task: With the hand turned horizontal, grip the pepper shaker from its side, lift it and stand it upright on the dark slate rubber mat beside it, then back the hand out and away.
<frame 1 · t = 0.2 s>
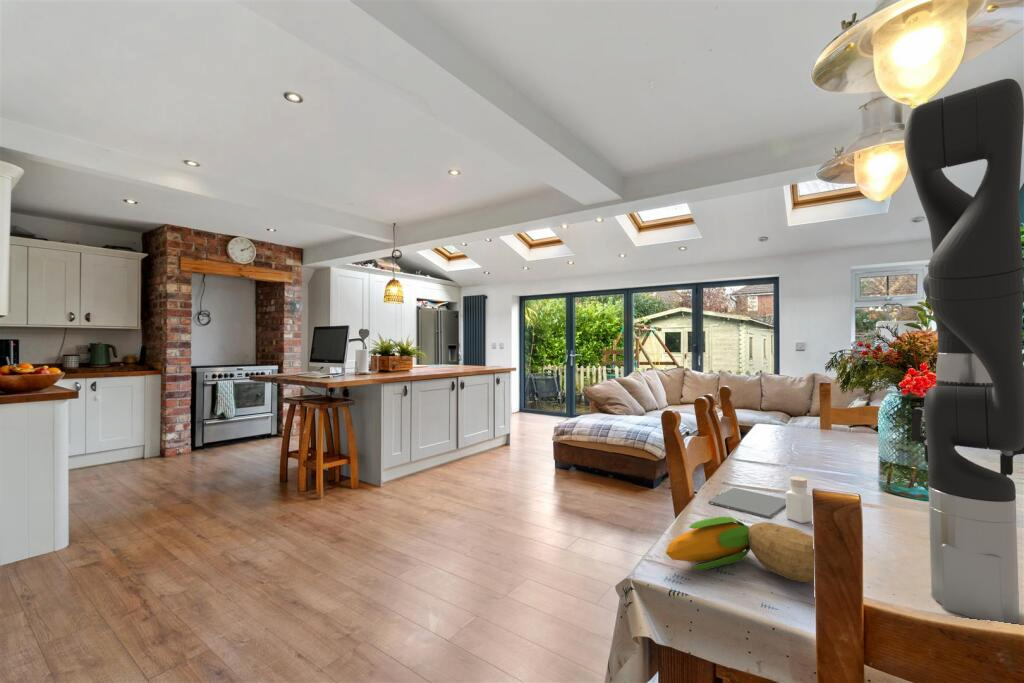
hand: (967, 471, 77), 18 cm above the table, tool pointing down, fingers open, 8 cm apart
pepper shaker: (799, 521, 101), on the table
slate mat: (749, 502, 112), on the table
potato: (787, 576, 76), on the table, touching corn
corn: (710, 563, 81), on the table, touching potato
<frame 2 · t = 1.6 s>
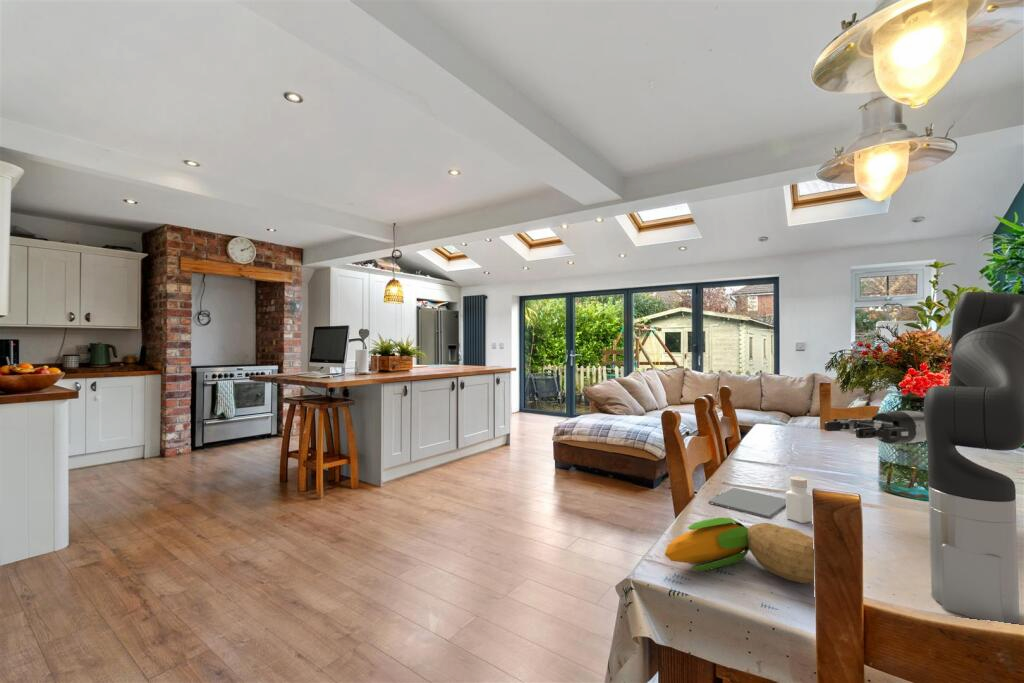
hand: (840, 429, 103), 20 cm above the table, tool horizontal, fingers open, 8 cm apart
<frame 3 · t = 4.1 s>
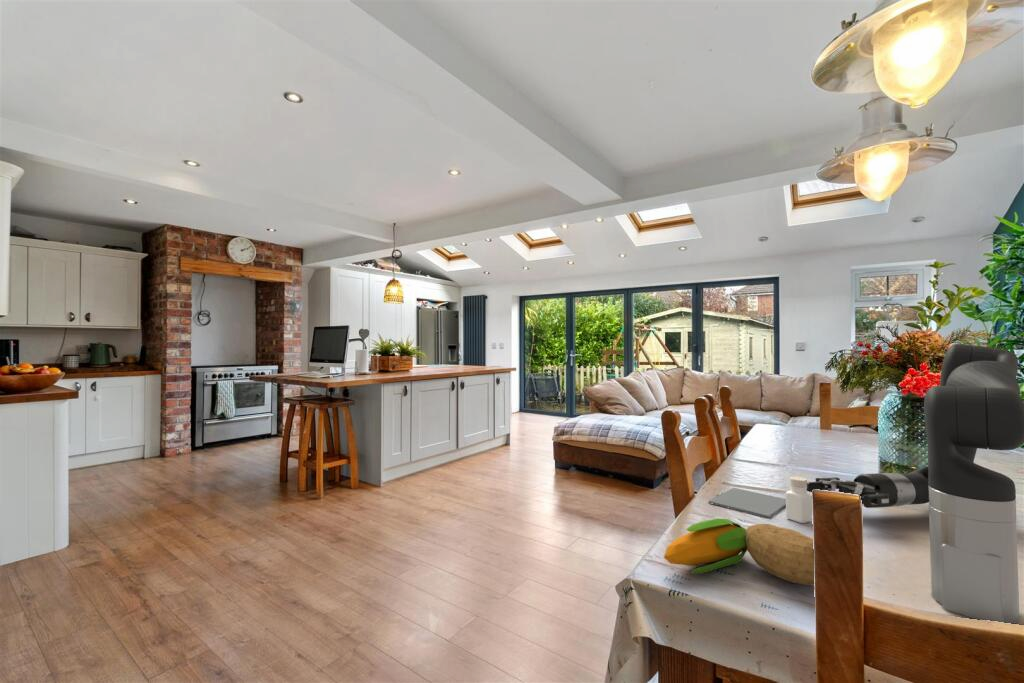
hand: (821, 492, 101), 6 cm above the table, tool horizontal, fingers open, 8 cm apart
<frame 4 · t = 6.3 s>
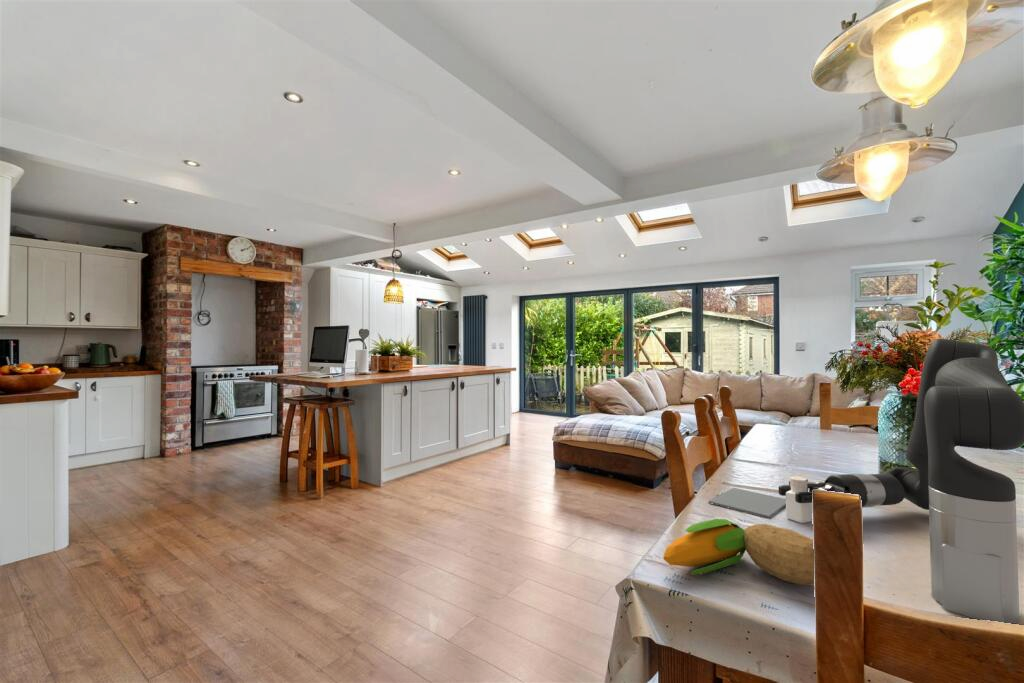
hand: (788, 494, 100), 6 cm above the table, tool horizontal, fingers closed on pepper shaker, 4 cm apart
pepper shaker: (799, 520, 101), on the table, touching gripper
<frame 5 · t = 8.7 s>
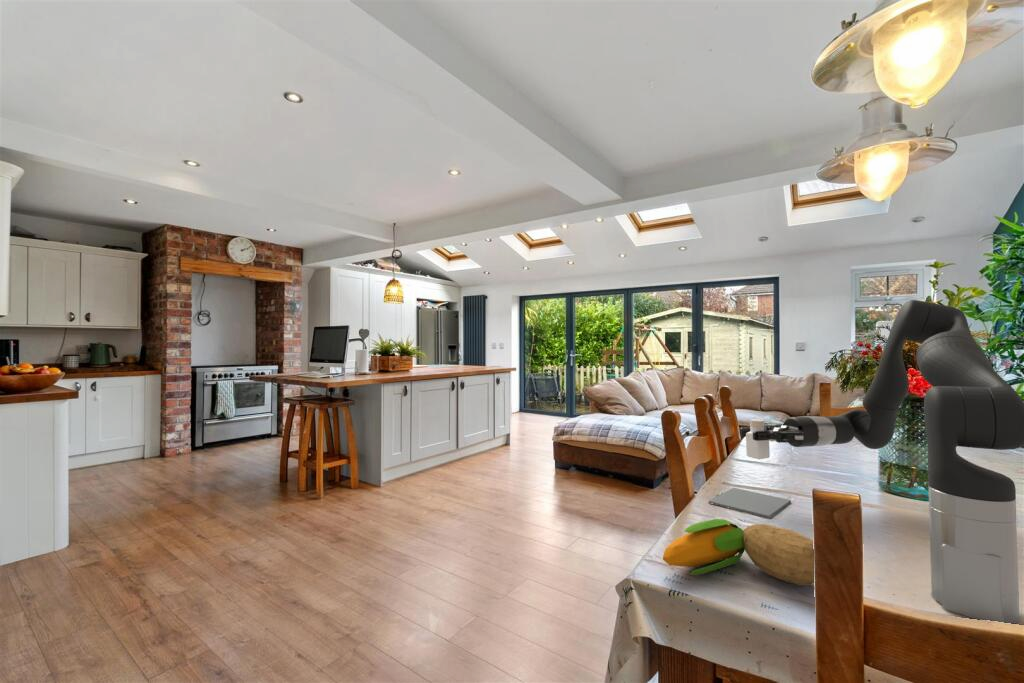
hand: (747, 434, 111), 18 cm above the table, tool horizontal, fingers closed on pepper shaker, 4 cm apart
pepper shaker: (758, 458, 111), point 12 cm above the table, touching gripper
when the fingers open (8 cm above the table, at t = 11.2 s): pepper shaker stays where it is, resting on slate mat.
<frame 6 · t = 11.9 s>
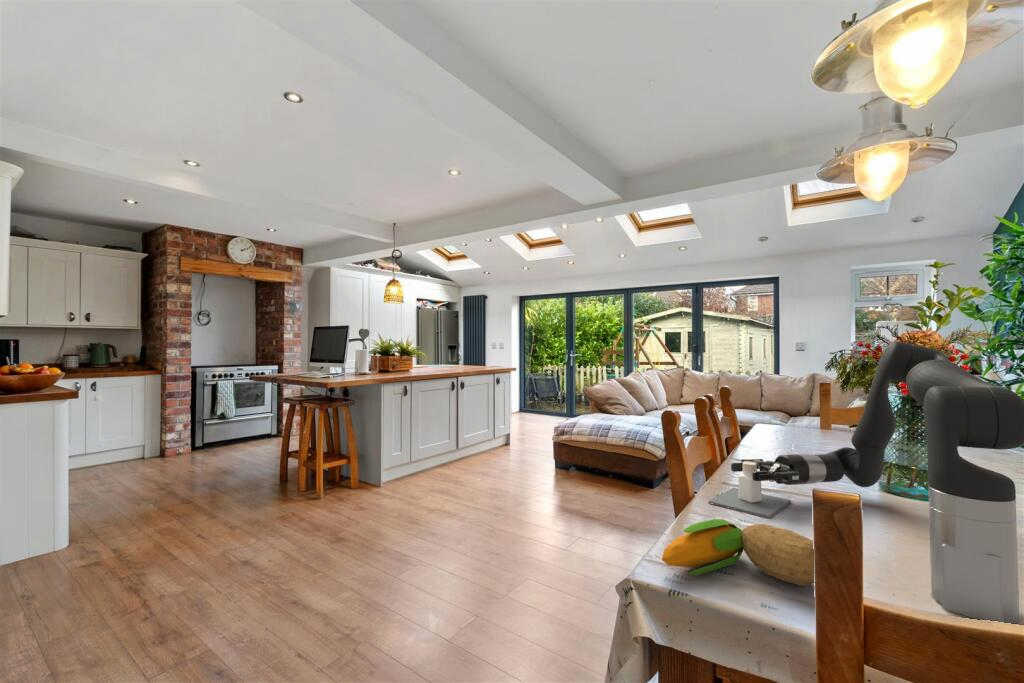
hand: (742, 471, 112), 8 cm above the table, tool horizontal, fingers open, 8 cm apart
pepper shaker: (750, 501, 112), resting on slate mat
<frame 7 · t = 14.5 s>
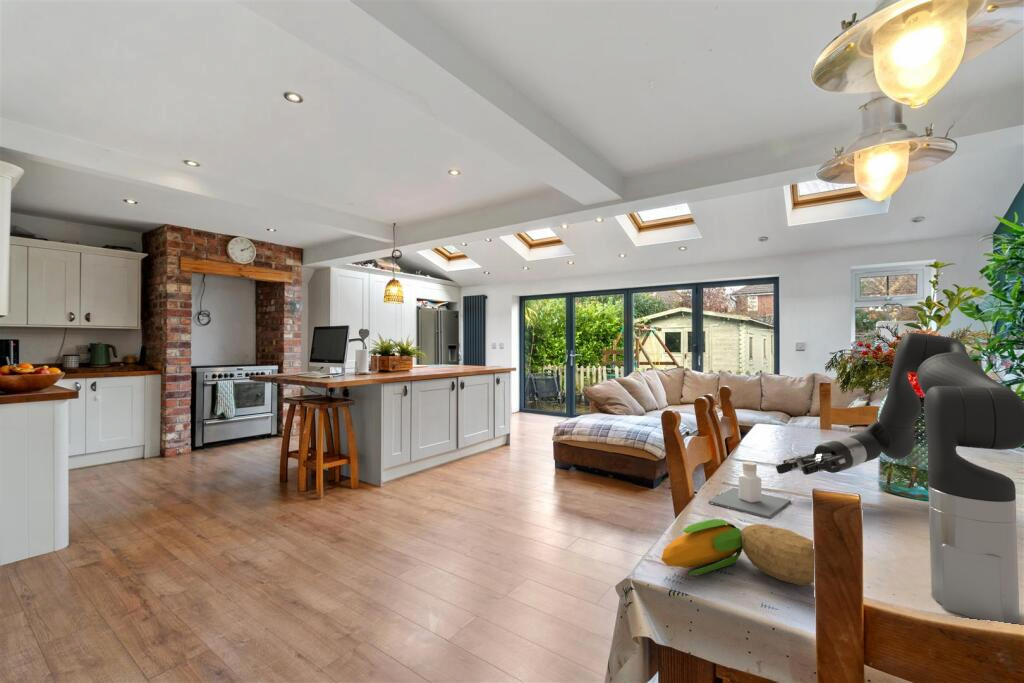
hand: (790, 470, 112), 8 cm above the table, tool horizontal, fingers open, 8 cm apart
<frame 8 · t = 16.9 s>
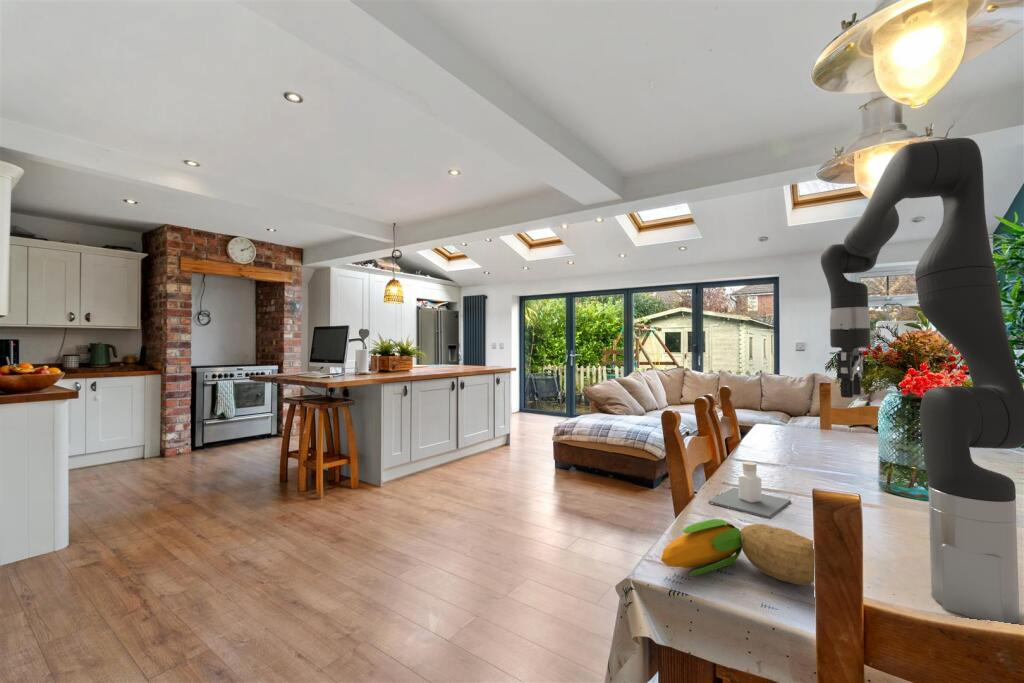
hand: (851, 396, 104), 28 cm above the table, tool pointing down, fingers open, 8 cm apart
at the end: pepper shaker inside the target area on the slate mat (0.1 cm from its centre), point 0.4 cm above the slate mat's base; pepper shaker tilted 0°; the gripper is holding nothing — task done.
